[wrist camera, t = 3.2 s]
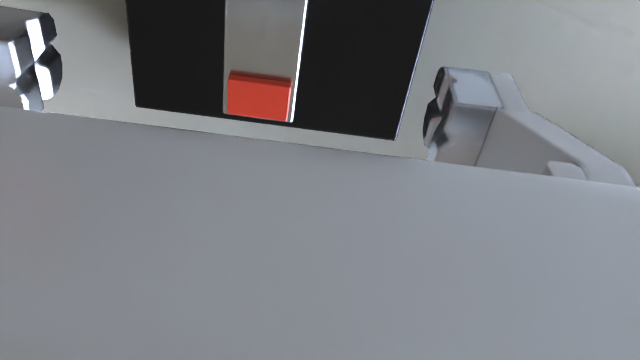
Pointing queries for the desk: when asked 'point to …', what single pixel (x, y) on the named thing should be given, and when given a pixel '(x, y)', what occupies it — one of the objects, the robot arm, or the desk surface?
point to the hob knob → (263, 57)
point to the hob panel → (316, 64)
